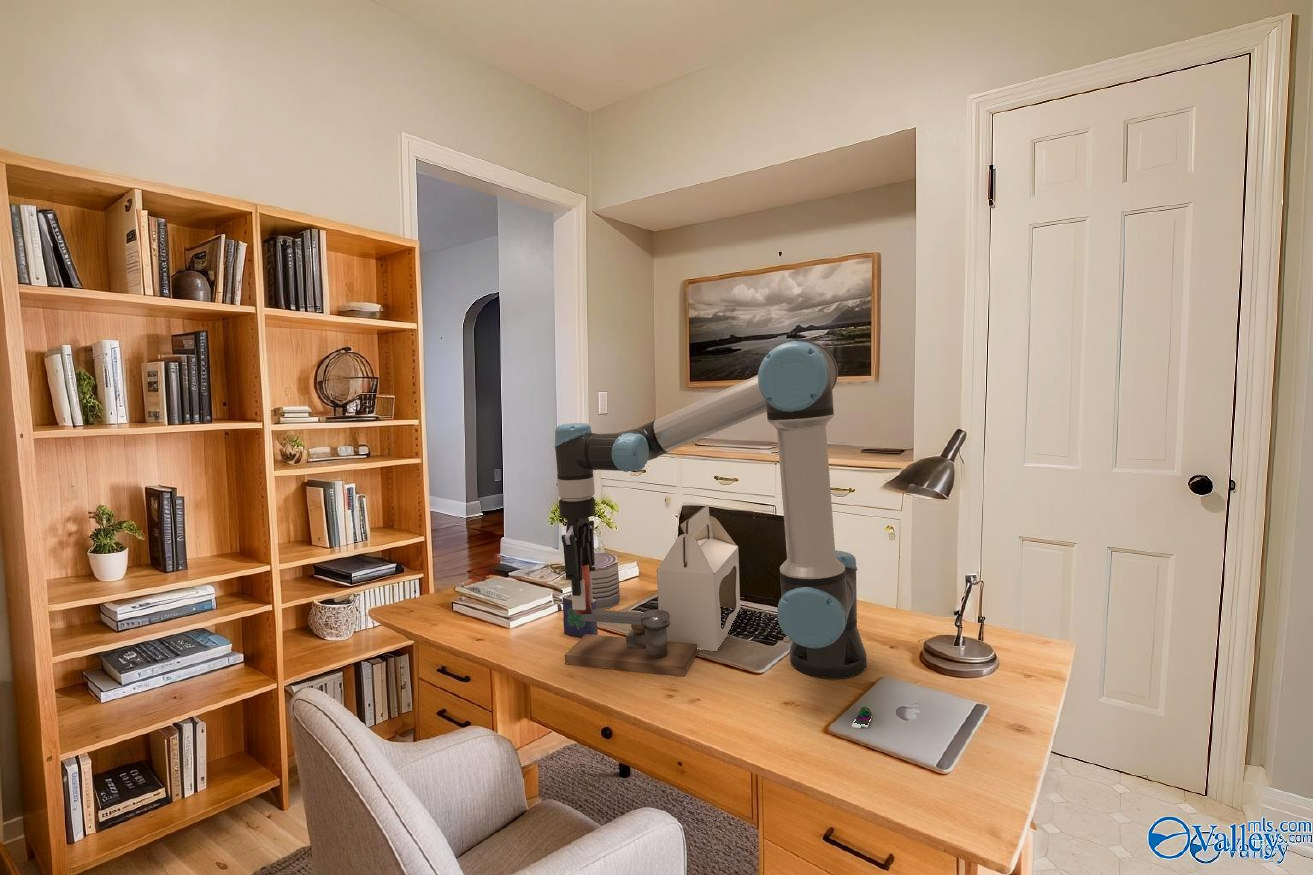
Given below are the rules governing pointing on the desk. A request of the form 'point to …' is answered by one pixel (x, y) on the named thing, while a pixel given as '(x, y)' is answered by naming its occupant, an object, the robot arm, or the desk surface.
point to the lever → (645, 619)
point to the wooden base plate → (634, 652)
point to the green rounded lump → (864, 716)
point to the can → (605, 580)
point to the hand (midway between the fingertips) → (582, 605)
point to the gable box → (700, 582)
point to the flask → (577, 620)
